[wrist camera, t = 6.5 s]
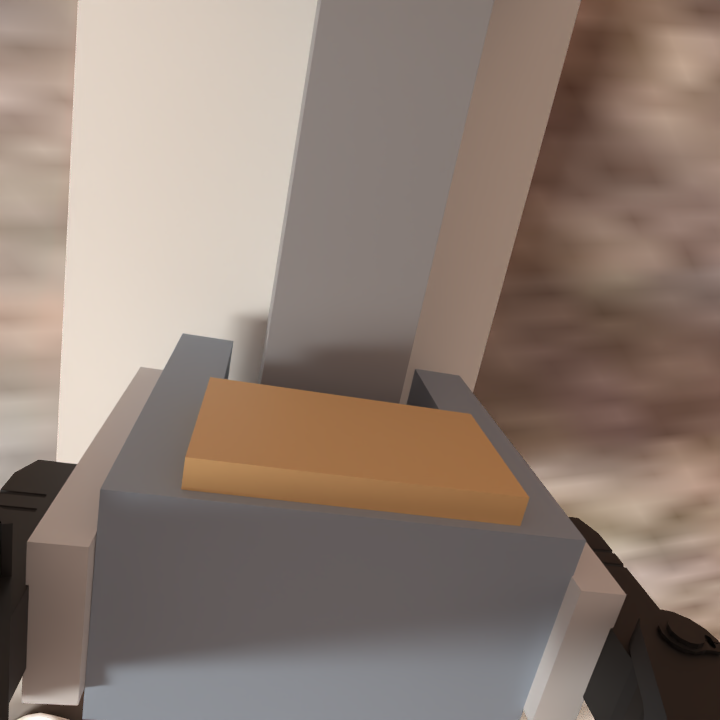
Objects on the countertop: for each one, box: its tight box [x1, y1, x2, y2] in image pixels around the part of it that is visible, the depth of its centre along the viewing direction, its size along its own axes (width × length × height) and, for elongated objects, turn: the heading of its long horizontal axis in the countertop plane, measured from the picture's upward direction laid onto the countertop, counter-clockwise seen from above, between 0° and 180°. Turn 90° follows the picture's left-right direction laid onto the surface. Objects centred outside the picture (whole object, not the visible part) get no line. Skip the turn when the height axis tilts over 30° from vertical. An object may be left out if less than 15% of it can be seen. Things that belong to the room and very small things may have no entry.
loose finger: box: [82, 333, 586, 720], centre depth 12 cm, size 7×4×7 cm, turn 79°
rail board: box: [56, 0, 581, 464], centre depth 13 cm, size 11×27×4 cm, turn 169°
